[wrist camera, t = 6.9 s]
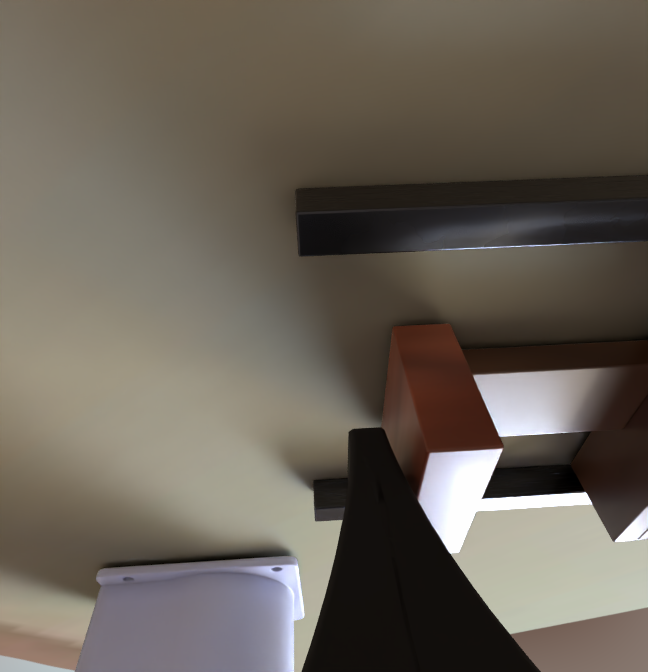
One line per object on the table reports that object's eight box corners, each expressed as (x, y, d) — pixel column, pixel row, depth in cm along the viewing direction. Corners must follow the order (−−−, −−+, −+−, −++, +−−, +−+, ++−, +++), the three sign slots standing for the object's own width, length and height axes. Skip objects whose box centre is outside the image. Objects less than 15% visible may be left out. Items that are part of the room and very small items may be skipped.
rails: (314, 493, 18) (315, 522, 17) (295, 187, 9) (295, 212, 8) (790, 463, 18) (816, 489, 17) (1166, 153, 10) (1253, 173, 9)
